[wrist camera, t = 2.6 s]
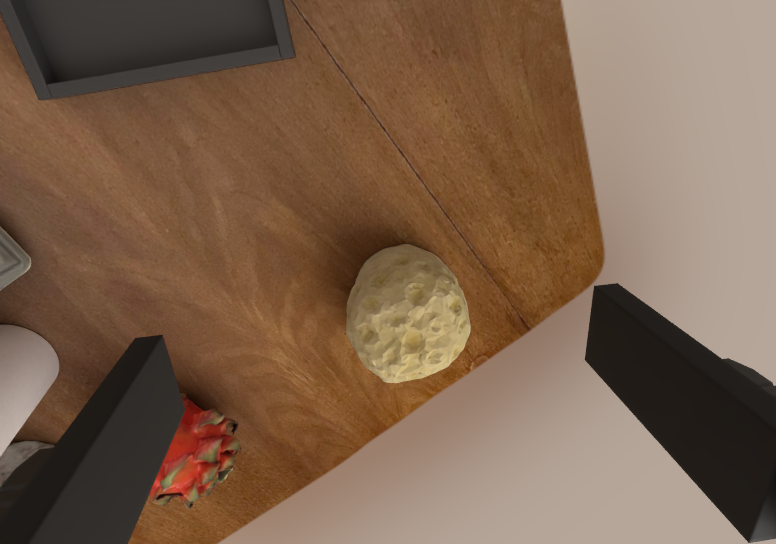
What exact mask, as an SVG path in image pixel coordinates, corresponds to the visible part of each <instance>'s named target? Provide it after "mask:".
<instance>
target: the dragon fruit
mask: <svg viewBox="0 0 776 544" xmlns="http://www.w3.org/2000/svg"><path fill="white" fill-rule="evenodd" d="M186 395H187V396H189V394H186V393H182V394H181V397H182V400H183V404H184V407H185V413H184V415H183V417H182V420H181V422H180V424H179V427H178V429H177V431H176V433H175V436H174V438H173V440H172V443H171V445H170V447H169V450H168V452H167V454H166V457H165V459H164V461H163V463H162V466H161V468H160V470H159V473H158V475H157V477H156V480H155V482H154V484H153V486H152V489H151V491H150V493H149V495H151V501H152V502H153V503H155V504H159V505H164V506H165V505H166V504H167V503H169V502H170V500H171V499H172V498H174V497H177V496H180V497H181V499H182V501H183V503H184V505H185V506H186V507H187V508H188V509H190V508H191V507H192V505H193V503H194V501H195V500H197V499H198V498H199V497H200V495H204V496H209V495H210V493H211V490H212V489H213V488H215V486H216V484H217V483H218V482H223V481H224V478H225V479H226V476H227V475H228V473H229V472H230V471H232V470H233V463H234V461H235V455H234V454H236V453H237V451H239V452H241V451H240V449H241V448H240V445H239V442H238V440H237V439H236V438H235V437H232V436H228V435H225V434H226V428H228V427H233V429H232V431H231V432H233V434H235V432H236V431H237V429H238V422H236V421H234V420H232V419H229V418H226V419H225V415H224V414H223V413H221V412H218V411H217V409H216V408H214V409H211V410H208V411H203V410H202V409H200V408H199V407H197V406H196V405H195V404H194V402H193V401H191V400H189V398H188V397H187V396H186ZM241 450H242V449H241Z"/></svg>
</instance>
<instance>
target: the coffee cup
mask: <svg viewBox="0 0 776 544" xmlns="http://www.w3.org/2000/svg"><path fill="white" fill-rule="evenodd" d="M58 373H59V360H58V357H57V354H56V352H55V351H54V349H53V348H52V346H51V345H50V344H49V343H48V342H47V341H46V340H45V339H44V338H42V337H41V336H40V335H38V334H36V333H35V332H33V331H31V330H28V329H26V328H23V327H19V326H15V325H0V457H1V455H2V454H3V452H4V451H5V450H6V448H7V447H8V445H9V444H10V442H11V441H12V440H13V438H14V437H15V435H16V434H17V433H18V431H19V430H20V428H21V427H22V426H23V424H24V423H25V421H26V420H27V419H28V417H29V416H30V414H31V413H32V412H33V410H34V409H35V407H36V406H37V405H38V403H39V402H40V400H41V399H42V398H43V396H44V395H45V394H46V392H47V391H48V389H49V388H50V387H51V385H52V384H53V382H54V381H55V379H56V378H57V376H58Z"/></svg>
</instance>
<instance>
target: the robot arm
mask: <svg viewBox="0 0 776 544" xmlns="http://www.w3.org/2000/svg"><path fill="white" fill-rule="evenodd" d="M585 360H586V362H587V363H588V364H589V365H590V366H591V367H592V368H593V369H594V370H595V372H596V373H597V374H598V375H599V376H600V377H601V378H602V379H603V381H604V382H605V383H606V384H607V385H608V386H609V387H610V388H611V389H612V391H613V392H614V393H615V394H616V395H617V396H618V397H619V398H620V400H621V401H622V402H623V403H624V404H625V405H626V406H627V407H628V408H629V410H630V411H631V412H632V413H633V414H634V415H635V416H636V417H637V419H638V420H639V421H640V422H641V423H642V424H643V425H644V426H645V428H646V429H647V430H648V431H649V432H650V433H651V434H652V435H653V436H654V438H655V439H656V440H657V441H658V442H659V443H660V444H661V445H662V446H663V448H665V450H666V451H667V452H668V453H669V454H670V455H671V457H672V458H673V459H674V460H675V461H676V462H677V463H678V464H679V465H680V466H681V468H682V469H683V470H684V471H685V472H686V473H687V474H688V476H689V477H690V478H691V479H692V480H693V481H694V482H695V483H696V484H697V485H698V487H699V488H700V489H701V490H702V491H703V492H704V493H705V494H706V496H707V497H708V498H709V499H710V500H711V501H712V502H713V503H714V505H715V506H716V507H717V508H718V509H719V510H720V511H721V512H722V514H723V515H724V516H725V517H726V518H727V519H728V520H729V521H730V522H731V523H732V525H733V526H734V527H735V528H736V529H737V530H738V531H739V532H740V534H741V535H742V536H743V537H744V538H745V539H746V540H747V541H748V543H751V542H757V541H764V540H769V539H775V538H776V386H773V383H772V382H771V381H769V380H768V379H766V378H765V377H763V376H762V375H760V374H759V373H758V372H756V371H755V370H753V369H751V368H749V367H747V366H744V365H742V364H740V363H738V362H735V361H733V360H731V359H721V358H720V357H718V356H717V355H716V354H714V353H713V352H712V351H710V350H709V349H707V348H706V347H705V346H703V345H702V344H700V343H699V342H698V341H696V340H695V339H694V338H692V337H691V336H689V335H688V334H687V333H685V332H684V331H682V330H681V329H680V328H678V327H677V326H676V325H674V324H673V323H671V322H670V321H668V320H667V319H666V318H665V317H663V316H662V315H660V314H659V313H658V312H656V311H655V310H654V309H652V308H651V307H649V306H648V305H646V304H645V303H644V302H642V301H641V300H640V299H638V298H637V297H636V296H634V295H633V294H631V293H630V292H629V291H627V290H626V289H624V288H623V287H622V286H620V285H619V284H618V283H616V284H608V285H599V286H594V291H593V299H592V307H591V315H590V323H589V332H588V339H587V347H586V356H585ZM184 413H185V407H184V404H183V400H182V397H181V394H180V390H179V387H178V384H177V381H176V377H175V374H174V371H173V368H172V364H171V361H170V358H169V354H168V351H167V348H166V345H165V341H164V338H163V335H158V336H149V337H141V338H135V339H134V341H133V342H132V343H131V345H130V346H129V347H128V349H127V350H126V351H125V353H124V354H123V355H122V357H121V358H120V359H119V361H118V362H117V363H116V365H115V366H114V367H113V369H112V370H111V371H110V373H109V374H108V375H107V377H106V378H105V379H104V381H103V382H102V383H101V385H100V386H99V388H98V389H97V390H96V392H95V393H94V394H93V396H92V397H91V398H90V400H89V401H88V402H87V404H86V405H85V406H84V408H83V409H82V410H81V412H80V413H79V414H78V416H77V417H76V418H75V420H74V421H73V422H72V424H71V425H70V426H69V428H68V429H67V430H66V432H65V433H64V434H63V436H62V437H61V439H60V440H59V441H58V443H57V444H56V445H55V447H53V448H45V449H39V450H38V451H37V452H35V453H34V454H33V455H32V456H30V457H29V458H28V459H27V460H25V461H24V462H23V463H22V464H20V465H19V466H18V467H17V468H15V470H14V471H13V472H12V473H11V475H10V476H9V477H8V478H7V480H6V481H5V482H4V483H3V485H2V486H1V487H0V544H128V542H129V540H130V537H131V535H132V533H133V530H134V528H135V526H136V523H137V521H138V519H139V516H140V514H141V512H142V510H143V507H144V505H145V503H146V500H147V498H148V496H149V493H150V491H151V489H152V486H153V484H154V482H155V480H156V477H157V475H158V473H159V470H160V468H161V466H162V463H163V461H164V459H165V457H166V454H167V452H168V450H169V447H170V445H171V443H172V440H173V438H174V436H175V433H176V431H177V429H178V427H179V424H180V422H181V420H182V417H183V415H184Z"/></svg>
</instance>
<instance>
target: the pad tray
mask: <svg viewBox="0 0 776 544" xmlns="http://www.w3.org/2000/svg"><path fill="white" fill-rule="evenodd" d="M0 13H1V16H2V18H3V20H4V22H5V25H6V27H7V29H8V31H9V34H10V36H11V38H12V40H13V43H14V45H15V47H16V49H17V52H18V54H19V56H20V58H21V61H22V63H23V65H24V67H25V70H26V72H27V74H28V76H29V79H30V81H31V83H32V85H33V88H34V90H35V92H36V94H37V97H38V99H39V100H50V99H60V98H65V97H71V96H77V95H83V94H88V93H94V92H100V91H106V90H111V89H117V88H123V87H129V86H134V85H140V84H146V83H152V82H157V81H163V80H169V79H175V78H180V77H186V76H192V75H198V74H203V73H209V72H215V71H221V70H226V69H232V68H238V67H244V66H249V65H255V64H261V63H267V62H272V61H278V60H284V59H290V58H295V57H296V55H295V50H294V46H293V41H292V37H291V32H290V28H289V23H288V18H287V14H286V9H285V5H284V0H0Z"/></svg>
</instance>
